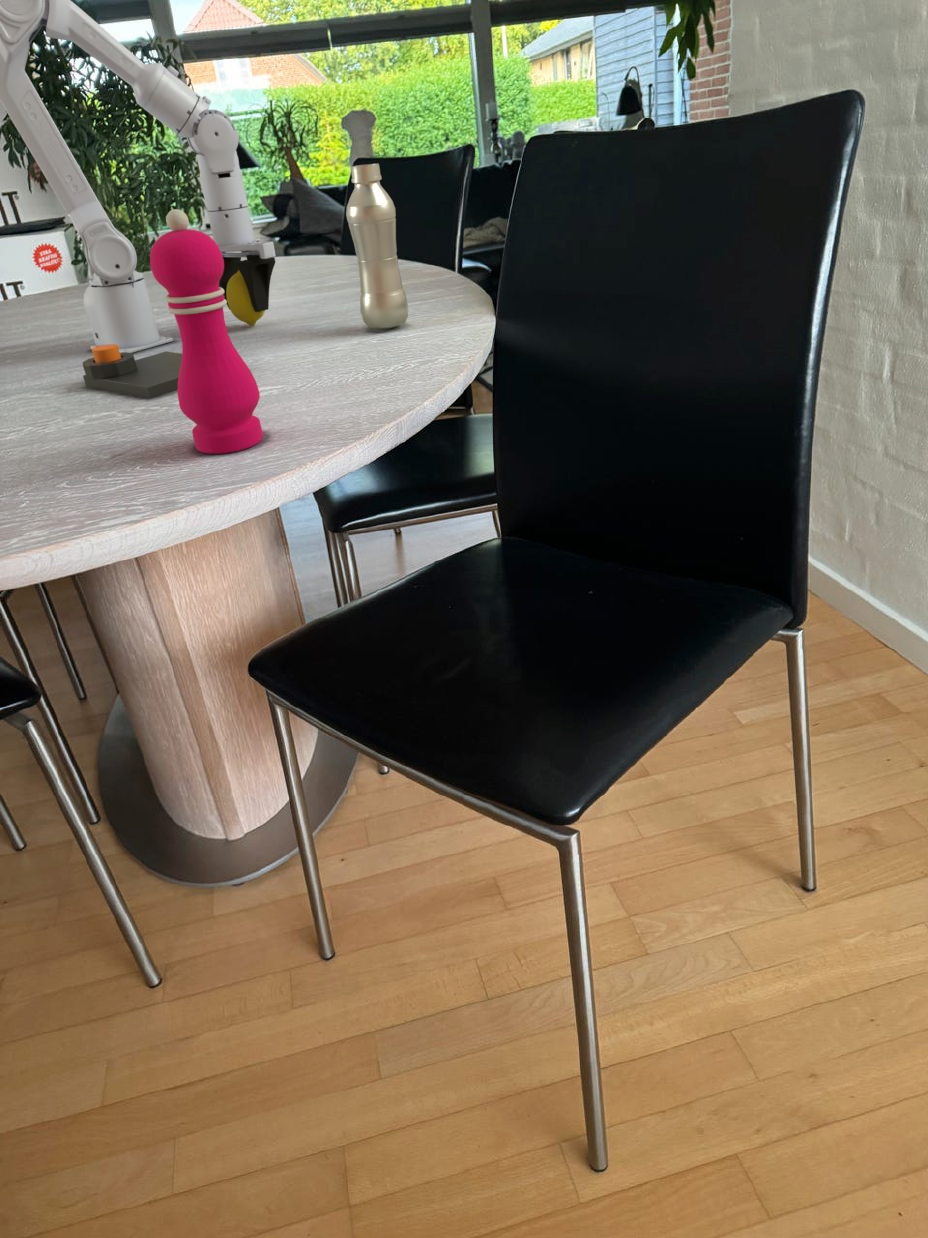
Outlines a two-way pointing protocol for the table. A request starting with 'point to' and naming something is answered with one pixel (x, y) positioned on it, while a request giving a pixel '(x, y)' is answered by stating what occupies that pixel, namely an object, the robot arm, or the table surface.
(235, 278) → the lemon
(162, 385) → the grey peg base
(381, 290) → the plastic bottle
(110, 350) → the button
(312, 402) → the table surface
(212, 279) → the pepper mill
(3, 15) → the robot arm
